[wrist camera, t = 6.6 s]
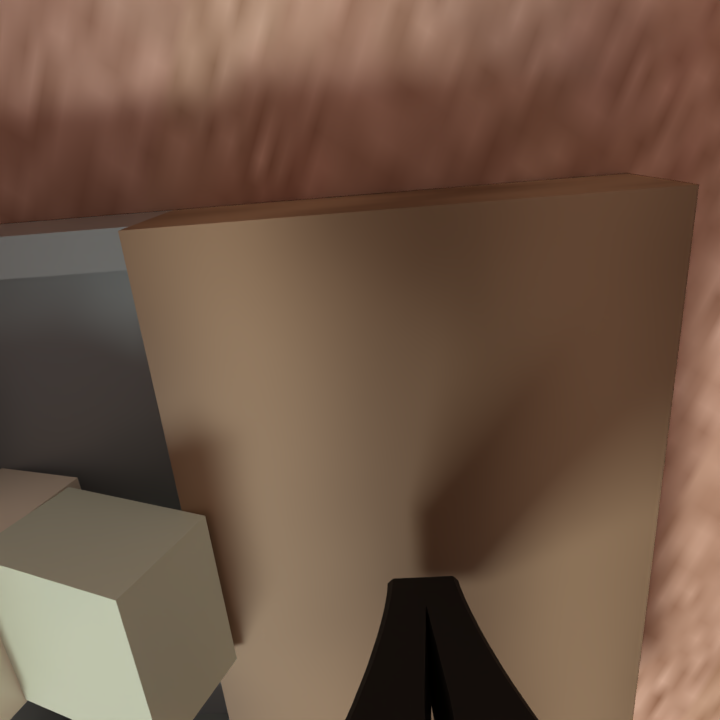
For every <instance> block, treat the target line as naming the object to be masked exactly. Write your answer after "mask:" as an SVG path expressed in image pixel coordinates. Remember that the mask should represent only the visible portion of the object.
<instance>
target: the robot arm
mask: <svg viewBox="0 0 720 720" xmlns="http://www.w3.org/2000/svg"><path fill="white" fill-rule="evenodd" d="M431 707H432V712H433V718H434V720H539V719H538V718H537V717H536V715H535V714H534V713H533V711H532V710H531V708H530V707H529V706H528V704H527V703H526V701H525V700H524V698H523V697H522V695H521V694H520V692H519V691H518V690H517V688H516V687H515V685H514V684H513V682H512V681H511V679H510V678H509V676H508V674H507V673H506V671H505V670H504V668H503V667H502V665H501V663H500V662H499V660H498V658H497V657H496V655H495V653H494V652H493V650H492V648H491V647H490V645H489V643H488V642H487V640H486V638H485V636H484V635H483V633H482V631H481V629H480V627H479V625H478V623H477V621H476V620H475V618H474V616H473V614H472V612H471V610H470V608H469V606H468V603H467V601H466V599H465V597H464V594H463V592H462V589H461V587H460V584H459V581H458V580H457V579H456V578H455V577H454V576H438V577H416V578H395V579H392V580H391V581H390V582H389V583H388V585H387V596H386V602H385V607H384V612H383V616H382V620H381V623H380V627H379V631H378V634H377V638H376V641H375V644H374V647H373V650H372V653H371V656H370V659H369V662H368V665H367V668H366V670H365V673H364V676H363V678H362V681H361V683H360V686H359V688H358V691H357V693H356V695H355V698H354V700H353V703H352V705H351V708H350V710H349V712H348V715H347V717H346V719H345V720H431Z"/></svg>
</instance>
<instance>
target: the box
mask: <svg viewBox="0 0 720 720" xmlns="http://www.w3.org/2000/svg"><path fill="white" fill-rule="evenodd" d="M169 211H172V210H168V211H156V212H143V213H131V214H119V215H106V216H94V217H82V218H69V219H57V220H45V221H32V222H20V223H8V224H0V469H1V468H5V469H13V470H21V471H29V472H37V473H45V474H53V475H61V476H69V477H77V478H78V481H79V484H80V487H81V490H85V491H90V492H95V493H99V494H104V495H109V496H114V497H118V498H123V499H128V500H133V501H137V502H142V503H147V504H152V505H156V506H161V507H166V508H171V509H175V510H180V511H182V509H181V505H180V501H179V496H178V492H177V488H176V483H175V479H174V474H173V470H172V466H171V461H170V457H169V452H168V448H167V444H166V439H165V435H164V431H163V426H162V422H161V417H160V413H159V409H158V404H157V400H156V395H155V391H154V387H153V382H152V378H151V374H150V369H149V365H148V360H147V356H146V352H145V347H144V343H143V338H142V334H141V330H140V325H139V321H138V317H137V312H136V308H135V303H134V299H133V295H132V290H131V286H130V281H129V277H128V273H127V268H126V264H125V260H124V255H123V251H122V246H121V242H120V238H119V233H118V231H119V230H121V229H124V228H127V227H129V226H132V225H135V224H137V223H140V222H143V221H145V220H148V219H151V218H153V217H156V216H159V215H161V214H164V213H167V212H169ZM10 720H72V719H70V718H67V717H65V716H63V715H60V714H58V713H56V712H54V711H51V710H49V709H47V708H44V707H42V706H40V705H37V704H35V703H33V702H30V701H27V702H26V703H25V704H24V705H23V706H22V707H21V708H20V710H19V711H18V712H17V713H16V714H15V715H14V716H13V717H12V718H11V719H10ZM193 720H229V716H228V711H227V707H226V702H225V698H224V694H223V689H222V685H221V681H220V683H219V684H218V686H217V687H216V688H215V690H214V691H213V693H212V694H211V695H210V697H209V698H208V699H207V701H206V702H205V704H204V705H203V706H202V708H201V709H200V711H199V712H198V713H197V715H196V716H195V718H194V719H193Z"/></svg>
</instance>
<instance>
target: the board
mask: <svg viewBox="0 0 720 720" xmlns="http://www.w3.org/2000/svg"><path fill="white" fill-rule="evenodd" d="M698 188H699V184H693V183H686V182H680V181H674V180H667V179H661V178H655V177H648V176H642V175H636V174H629V173H623V174H611V175H599V176H586V177H574V178H562V179H549V180H537V181H525V182H512V183H500V184H488V185H475V186H463V187H451V188H439V189H426V190H414V191H402V192H389V193H377V194H365V195H352V196H340V197H328V198H316V199H303V200H291V201H279V202H266V203H254V204H242V205H229V206H217V207H205V208H192V209H180V210H172V211H169V212H167V213H164V214H161V215H159V216H156V217H153V218H151V219H148V220H145V221H143V222H140V223H137V224H135V225H132V226H129V227H127V228H124V229H121V230H119V231H118V233H119V238H120V242H121V246H122V251H123V255H124V260H125V264H126V268H127V273H128V277H129V281H130V286H131V290H132V295H133V299H134V303H135V308H136V312H137V317H138V321H139V325H140V330H141V334H142V338H143V343H144V347H145V352H146V356H147V360H148V365H149V369H150V374H151V378H152V382H153V387H154V391H155V395H156V400H157V404H158V409H159V413H160V417H161V422H162V426H163V431H164V435H165V439H166V444H167V448H168V452H169V457H170V461H171V466H172V470H173V474H174V479H175V483H176V488H177V492H178V496H179V501H180V505H181V509H182V511H185V512H190V513H195V514H199V515H204V516H205V517H206V522H207V526H208V531H209V535H210V540H211V544H212V549H213V553H214V558H215V562H216V567H217V571H218V576H219V580H220V585H221V589H222V594H223V598H224V603H225V607H226V612H227V616H228V621H229V625H230V630H231V634H232V639H233V643H234V648H235V653H236V657H237V659H236V661H235V662H234V663H233V665H232V666H231V668H230V669H229V670H228V672H227V673H226V675H225V676H224V677H223V679H222V680H221V685H222V689H223V694H224V698H225V702H226V707H227V711H228V716H229V720H345V719H346V717H347V715H348V712H349V710H350V708H351V705H352V703H353V700H354V698H355V695H356V693H357V691H358V688H359V686H360V683H361V681H362V678H363V676H364V673H365V670H366V668H367V665H368V662H369V659H370V656H371V653H372V650H373V647H374V644H375V641H376V638H377V634H378V631H379V627H380V623H381V620H382V616H383V612H384V607H385V602H386V596H387V585H388V583H389V582H390V581H391V580H392V579H395V578H416V577H438V576H454V577H455V578H456V579H457V580H458V581H459V584H460V587H461V589H462V592H463V594H464V597H465V599H466V601H467V603H468V606H469V608H470V610H471V612H472V614H473V616H474V618H475V620H476V621H477V623H478V625H479V627H480V629H481V631H482V633H483V635H484V636H485V638H486V640H487V642H488V643H489V645H490V647H491V648H492V650H493V652H494V653H495V655H496V657H497V658H498V660H499V662H500V663H501V665H502V667H503V668H504V670H505V671H506V673H507V674H508V676H509V678H510V679H511V681H512V682H513V684H514V685H515V687H516V688H517V690H518V691H519V692H520V694H521V695H522V697H523V698H524V700H525V701H526V703H527V704H528V706H529V707H530V708H531V710H532V711H533V713H534V714H535V715H536V717H537V718H538V719H539V720H633V713H634V705H635V697H636V689H637V681H638V673H639V665H640V657H641V649H642V641H643V632H644V624H645V616H646V608H647V600H648V592H649V584H650V576H651V568H652V560H653V552H654V544H655V535H656V527H657V519H658V511H659V503H660V495H661V487H662V479H663V471H664V463H665V455H666V446H667V438H668V430H669V422H670V414H671V406H672V398H673V390H674V382H675V374H676V366H677V358H678V349H679V341H680V333H681V325H682V317H683V309H684V301H685V293H686V285H687V277H688V269H689V260H690V252H691V244H692V236H693V228H694V220H695V212H696V204H697V196H698ZM431 720H434V718H433V712H432V707H431Z"/></svg>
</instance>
